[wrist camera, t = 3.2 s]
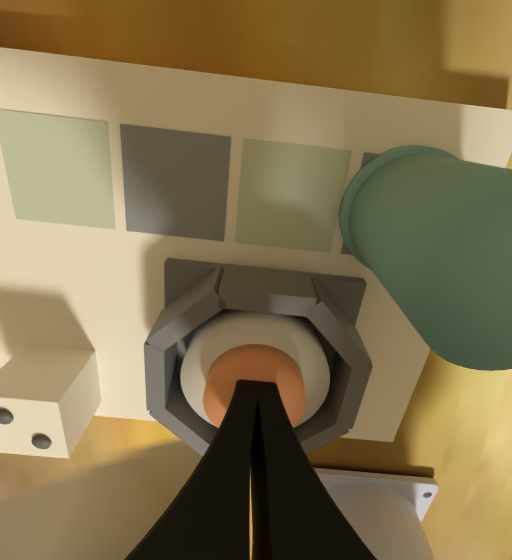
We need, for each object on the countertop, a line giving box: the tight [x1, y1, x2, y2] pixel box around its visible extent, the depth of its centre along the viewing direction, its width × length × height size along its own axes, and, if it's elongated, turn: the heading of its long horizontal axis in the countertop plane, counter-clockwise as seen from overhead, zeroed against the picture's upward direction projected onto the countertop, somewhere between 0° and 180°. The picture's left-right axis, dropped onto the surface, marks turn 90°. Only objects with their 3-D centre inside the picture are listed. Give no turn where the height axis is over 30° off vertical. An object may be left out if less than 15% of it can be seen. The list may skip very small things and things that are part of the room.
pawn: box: [339, 145, 512, 371], centre depth 9 cm, size 4×4×6 cm
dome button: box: [180, 308, 330, 428], centre depth 13 cm, size 6×6×2 cm
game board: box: [0, 47, 512, 458], centre depth 12 cm, size 15×22×4 cm
